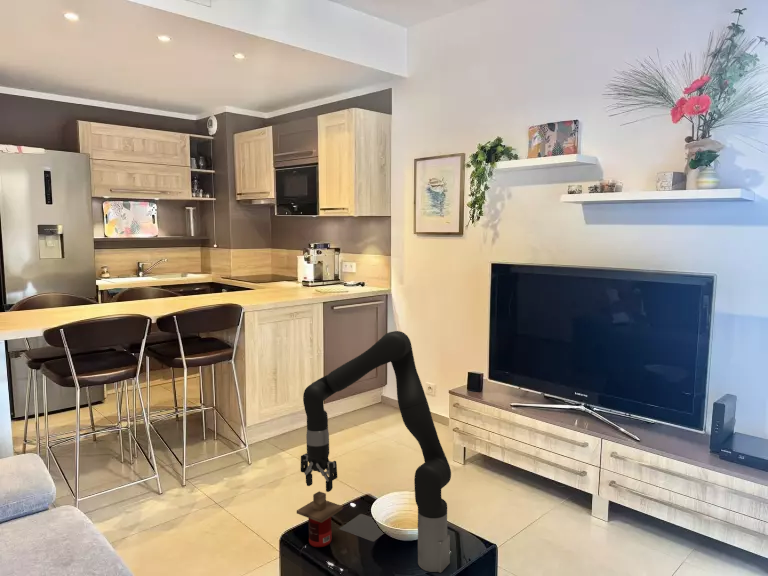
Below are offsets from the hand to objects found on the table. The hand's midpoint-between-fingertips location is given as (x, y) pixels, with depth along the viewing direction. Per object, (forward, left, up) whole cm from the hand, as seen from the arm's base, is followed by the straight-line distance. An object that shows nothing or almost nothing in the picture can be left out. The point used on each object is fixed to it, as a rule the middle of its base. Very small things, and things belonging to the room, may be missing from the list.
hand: (319, 488), depth 181 cm
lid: (0, 0, -8) cm, 8 cm away
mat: (-8, -16, -19) cm, 26 cm away
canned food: (0, 0, -19) cm, 19 cm away
